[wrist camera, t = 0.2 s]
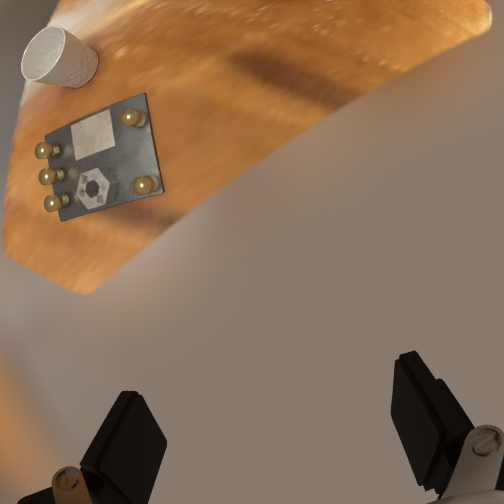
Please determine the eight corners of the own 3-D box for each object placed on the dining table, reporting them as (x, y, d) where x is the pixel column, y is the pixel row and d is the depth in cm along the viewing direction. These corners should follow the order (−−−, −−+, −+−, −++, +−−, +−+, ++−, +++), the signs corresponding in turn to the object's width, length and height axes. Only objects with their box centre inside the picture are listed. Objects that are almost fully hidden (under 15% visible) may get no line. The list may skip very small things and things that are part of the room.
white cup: (102, 38, 32) (66, 15, 23) (103, 82, 34) (64, 65, 25) (61, 56, 33) (23, 41, 23) (61, 99, 35) (19, 90, 26)
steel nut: (82, 175, 38) (72, 177, 35) (114, 164, 37) (106, 164, 35) (89, 209, 39) (80, 212, 37) (122, 199, 38) (113, 201, 36)
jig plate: (47, 135, 37) (31, 135, 33) (145, 93, 35) (134, 87, 31) (62, 221, 40) (47, 226, 36) (164, 192, 39) (153, 195, 35)
